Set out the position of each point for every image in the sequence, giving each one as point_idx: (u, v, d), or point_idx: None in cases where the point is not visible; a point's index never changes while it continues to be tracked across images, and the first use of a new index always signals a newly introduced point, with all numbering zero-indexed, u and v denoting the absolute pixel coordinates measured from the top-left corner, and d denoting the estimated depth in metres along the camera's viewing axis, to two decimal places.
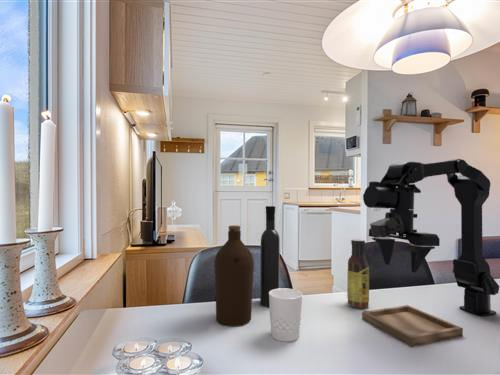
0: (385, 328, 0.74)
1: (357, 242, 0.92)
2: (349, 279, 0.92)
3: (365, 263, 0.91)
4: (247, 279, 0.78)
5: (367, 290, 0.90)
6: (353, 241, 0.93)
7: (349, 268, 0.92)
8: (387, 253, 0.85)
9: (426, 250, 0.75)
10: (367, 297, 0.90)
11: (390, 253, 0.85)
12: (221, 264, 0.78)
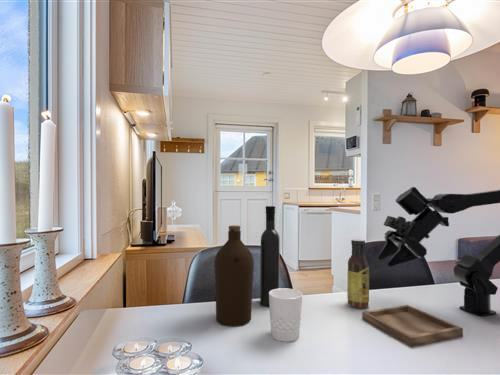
0: (385, 328, 0.74)
1: (357, 242, 0.92)
2: (349, 279, 0.92)
3: (365, 263, 0.91)
4: (247, 279, 0.78)
5: (367, 290, 0.90)
6: (353, 241, 0.93)
7: (349, 268, 0.92)
8: (385, 252, 0.96)
9: (410, 257, 0.85)
10: (367, 297, 0.90)
11: (388, 254, 0.96)
12: (221, 264, 0.78)
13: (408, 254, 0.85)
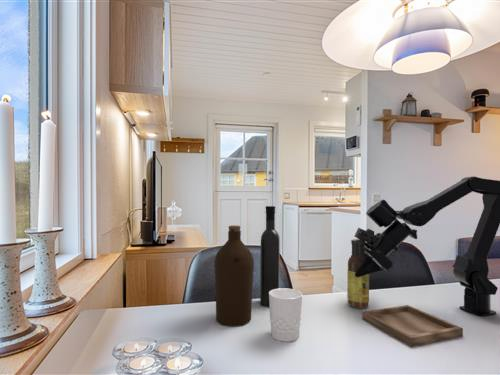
0: (385, 328, 0.74)
1: (357, 242, 0.92)
2: (349, 279, 0.92)
3: None
4: (247, 279, 0.78)
5: (367, 290, 0.90)
6: (353, 241, 0.93)
7: (349, 268, 0.92)
8: None
9: (376, 268, 0.87)
10: (367, 297, 0.90)
11: None
12: (221, 264, 0.78)
13: (374, 265, 0.88)
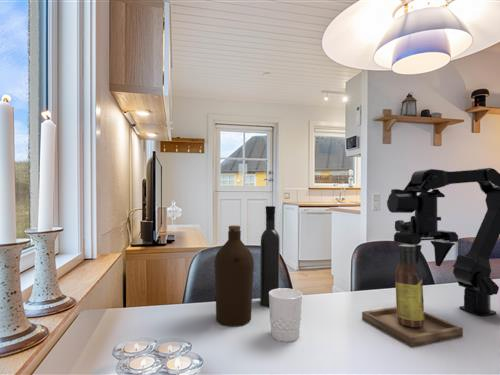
0: (385, 328, 0.74)
1: (411, 248, 0.77)
2: (405, 294, 0.76)
3: None
4: (247, 279, 0.78)
5: None
6: (406, 247, 0.77)
7: (403, 280, 0.76)
8: (438, 255, 0.89)
9: None
10: None
11: (441, 256, 0.88)
12: (221, 264, 0.78)
13: None
